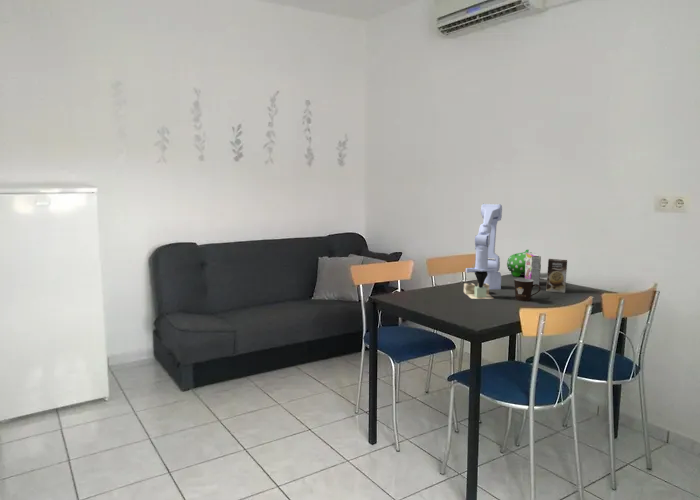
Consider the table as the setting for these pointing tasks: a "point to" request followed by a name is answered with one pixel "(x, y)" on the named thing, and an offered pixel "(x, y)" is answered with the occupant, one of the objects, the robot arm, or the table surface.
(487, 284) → the dotted cube
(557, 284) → the coffee box
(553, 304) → the table surface
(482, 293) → the plain cube
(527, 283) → the coffee mug
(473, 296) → the birch board
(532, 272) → the candy bar box
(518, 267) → the piggy bank
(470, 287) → the dotted cube
